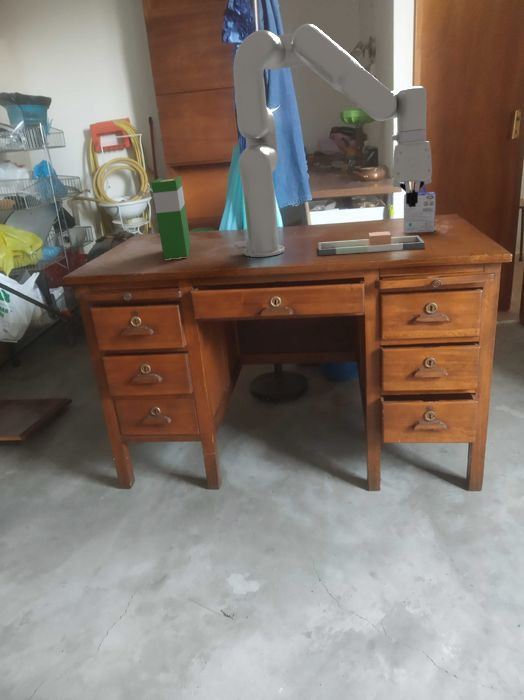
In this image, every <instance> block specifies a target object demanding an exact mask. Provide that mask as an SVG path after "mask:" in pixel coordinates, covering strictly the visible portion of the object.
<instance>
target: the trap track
mask: <svg viewBox="0 0 524 700" xmlns="http://www.w3.org/2000/svg"><path fill="white" fill-rule="evenodd" d="M425 243H426V242H425V241H424V240H423V239H422V238H421V237H420V236H419V235H407V236H396V237H395V236H394V237H392V236H391V244H386V245H372V246H369V238H367V239H366V238H365V239H364V238H363V239H351V240H337V241H325V242H324V241H323V242H318V256H327V255H328V256H330V255H342V254H343V255H344V254H345V255H346V254H358V253H359V254H360V253H372V252H373V253H374V252H390V251H403V250H416V249H419V250H421V249H425Z"/></svg>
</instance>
